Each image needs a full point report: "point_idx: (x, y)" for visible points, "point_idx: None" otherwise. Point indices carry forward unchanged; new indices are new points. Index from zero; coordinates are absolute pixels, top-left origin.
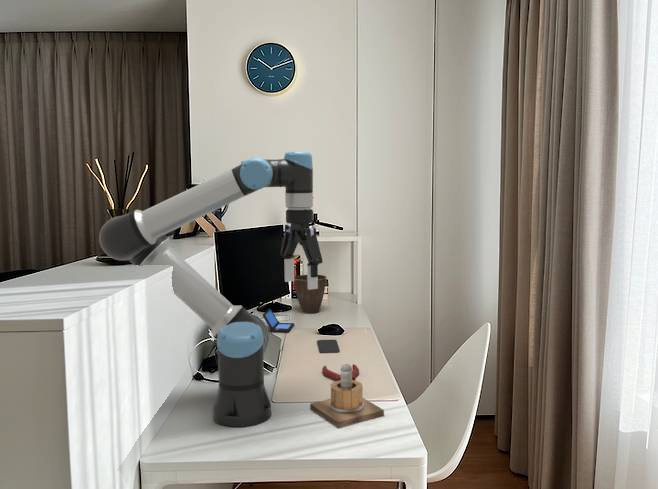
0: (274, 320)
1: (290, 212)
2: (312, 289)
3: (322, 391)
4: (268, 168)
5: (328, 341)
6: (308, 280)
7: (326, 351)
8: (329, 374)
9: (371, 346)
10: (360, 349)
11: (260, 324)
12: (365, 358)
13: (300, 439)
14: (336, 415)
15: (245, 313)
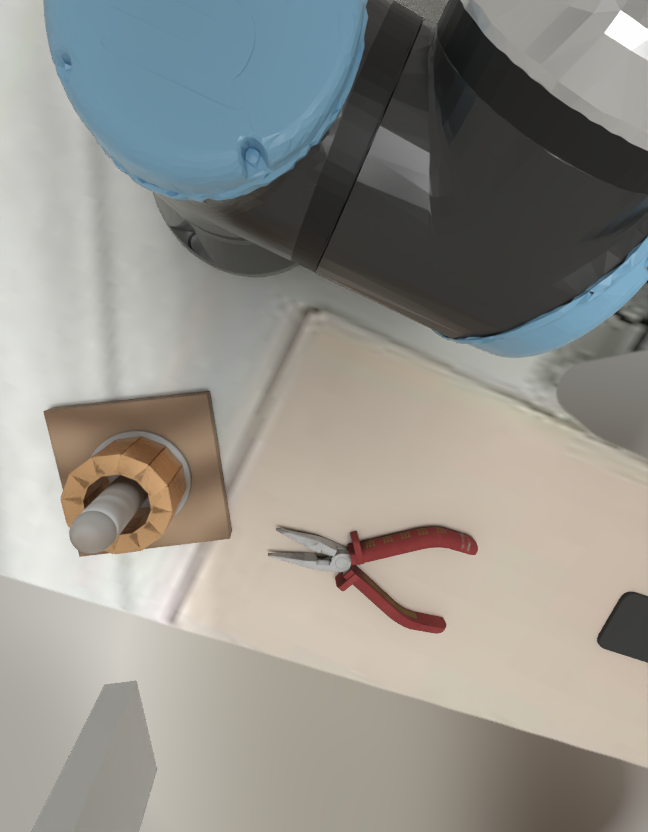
0: None
1: None
2: None
3: (320, 473)
4: None
5: None
6: (60, 791)
7: (621, 612)
8: (407, 537)
9: (589, 740)
10: (584, 704)
11: (459, 283)
12: (505, 684)
13: (15, 282)
14: (90, 426)
15: (516, 154)
